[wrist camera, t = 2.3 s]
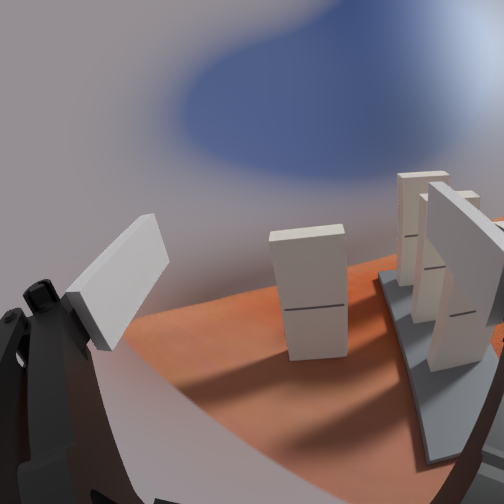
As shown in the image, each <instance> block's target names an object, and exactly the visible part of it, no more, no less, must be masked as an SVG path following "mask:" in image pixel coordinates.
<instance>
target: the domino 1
mask: <svg viewBox="0 0 504 504" xmlns="http://www.w3.org/2000/svg"><path fill="white" fill-rule="evenodd" d="M269 245H270V251H271V256H272V261H273V267H274V273H275V278H276V284H277V289H278V295H279V301H280V306H281V312H282V318H283V323H284V329H285V335H286V341H287V347H288V352H289V358H290V361H298V360H312V359H325V358H336V357H346V356H347V350H348V294H347V263H346V243H345V232H344V228H343V225H342V224H336V225H326V226H317V227H309V228H308V227H307V228H298V229H289V230H280V231H272V232H270V237H269Z"/></svg>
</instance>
